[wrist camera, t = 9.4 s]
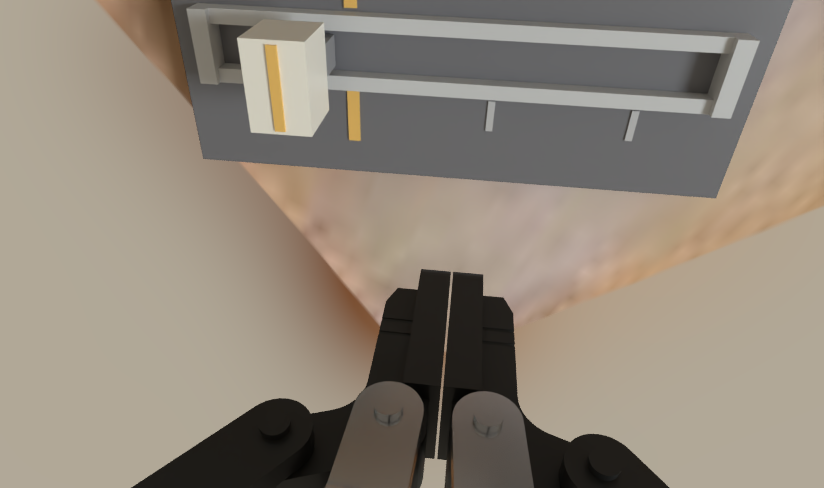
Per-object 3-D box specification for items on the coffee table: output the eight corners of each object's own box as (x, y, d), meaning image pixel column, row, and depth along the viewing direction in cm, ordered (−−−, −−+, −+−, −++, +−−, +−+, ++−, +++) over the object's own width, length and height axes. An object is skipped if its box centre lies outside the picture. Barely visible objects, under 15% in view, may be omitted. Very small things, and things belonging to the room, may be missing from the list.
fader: (283, 5, 30) (235, 38, 24) (338, 8, 29) (303, 42, 24) (290, 86, 32) (250, 133, 27) (342, 89, 32) (311, 138, 26)
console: (166, -120, 29) (131, -118, 26) (808, -95, 27) (845, -90, 24) (215, 145, 38) (194, 168, 35) (705, 182, 35) (723, 210, 32)
